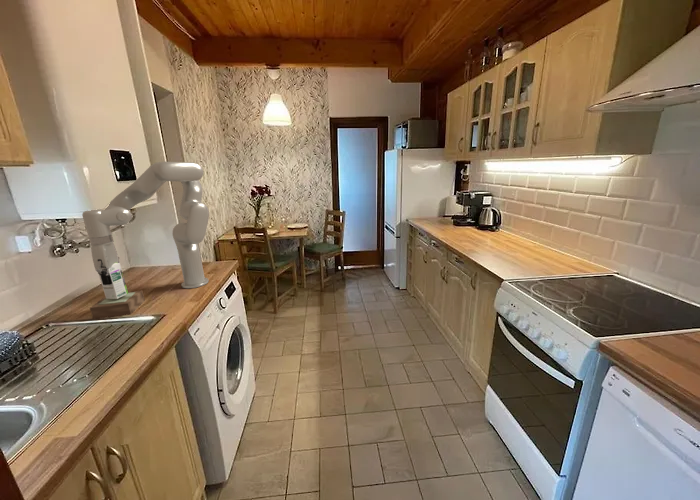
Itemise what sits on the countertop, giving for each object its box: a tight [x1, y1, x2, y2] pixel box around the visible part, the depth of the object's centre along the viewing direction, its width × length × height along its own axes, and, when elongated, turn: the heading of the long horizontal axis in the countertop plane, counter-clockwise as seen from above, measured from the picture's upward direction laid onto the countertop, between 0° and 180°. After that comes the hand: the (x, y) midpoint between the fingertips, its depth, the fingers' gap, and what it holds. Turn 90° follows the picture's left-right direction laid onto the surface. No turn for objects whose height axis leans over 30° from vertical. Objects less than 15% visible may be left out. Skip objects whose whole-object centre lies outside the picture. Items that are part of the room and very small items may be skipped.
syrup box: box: [98, 261, 129, 299], centre depth 135 cm, size 6×6×14 cm
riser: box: [89, 290, 145, 320], centre depth 137 cm, size 14×14×5 cm
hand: (112, 280), depth 135 cm, fingers open, 7 cm apart
